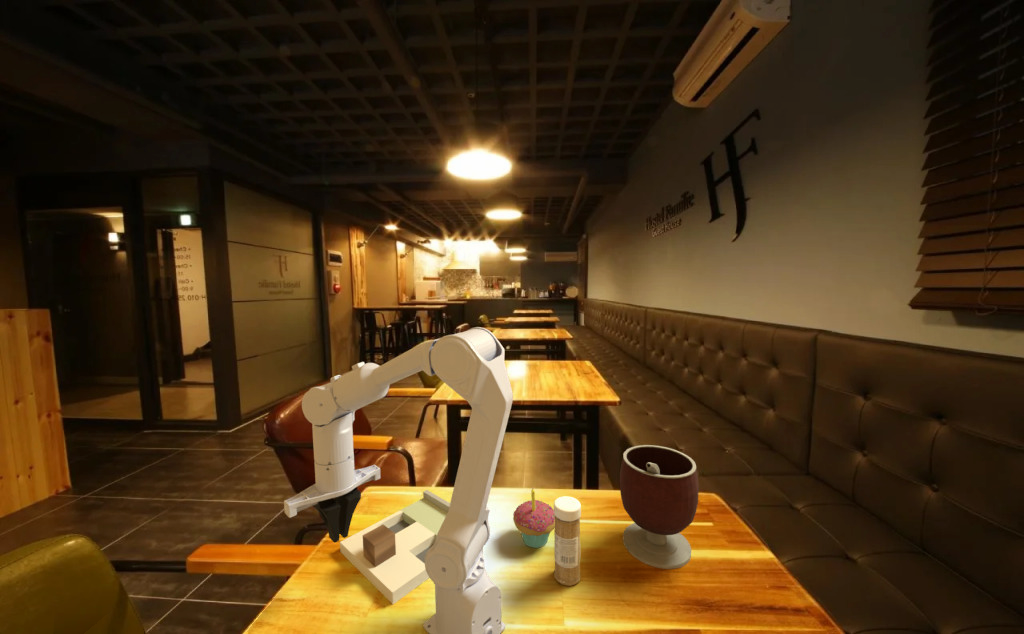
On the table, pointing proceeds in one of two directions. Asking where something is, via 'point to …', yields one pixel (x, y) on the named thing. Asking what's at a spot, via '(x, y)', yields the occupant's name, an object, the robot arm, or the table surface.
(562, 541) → the sprinkles bottle
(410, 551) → the board
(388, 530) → the walnut block
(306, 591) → the table surface
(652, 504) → the mate gourd
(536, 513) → the cupcake
